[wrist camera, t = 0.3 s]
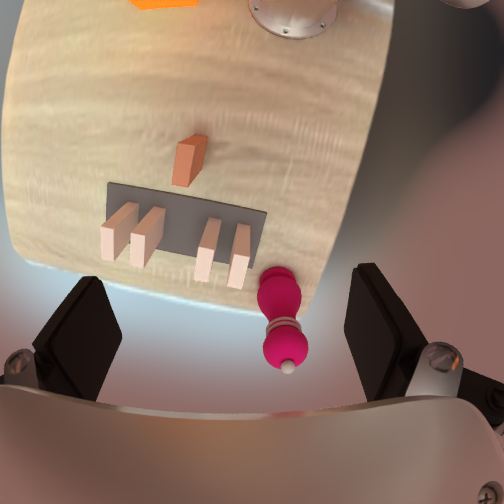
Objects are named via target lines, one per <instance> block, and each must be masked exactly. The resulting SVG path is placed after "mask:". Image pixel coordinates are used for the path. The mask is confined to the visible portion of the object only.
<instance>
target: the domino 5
mask: <svg viewBox="0 0 504 504" xmlns="http://www.w3.org/2000/svg"><path fill="white" fill-rule="evenodd" d="M249 259H250V225H245V224H240V223H238V224H237V228H236V233H235V237H234V241H233V246H232V250H231V257H230V265H229V273H228V281H227V287H232V288H237V289H242V286H243V282H244V278H245V275H246V271H247V267H248V263H249Z"/></svg>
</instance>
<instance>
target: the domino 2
mask: <svg viewBox="0 0 504 504" xmlns="http://www.w3.org/2000/svg"><path fill="white" fill-rule="evenodd" d="M165 210H166V209H165V208H160V207H155V206H154V207H153V208H152V209H151V210H150V211H149V212H148V213H147V215H146V216H145V217H144V218H143V219H142V220H141V221H140V223H139V224H138V225H137V226H136V227H135V228H134V230H133V231H132V232H131V241H130V266H133V267H137V268H142V269H144V267H145V265H146V264H147V262H148V260H149V259H150V257H151V255H152V254H153V252H154V250H155V249H156V247H157V245H158V244H159V242H160V240H161V239H162V237H163V228H164V219H165Z"/></svg>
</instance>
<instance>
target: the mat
mask: <svg viewBox="0 0 504 504" xmlns="http://www.w3.org/2000/svg"><path fill="white" fill-rule="evenodd" d="M127 202H133V203H139V214H138V224H139V223H140V221H141V220H142V219H143V218H144V217H145V216H146V215H147V213H148V212H149V211H150V210H151V209H152V208H153V207H154V206H155V207H160V208H165V209H166V210H165V219H164V228H163V237H162V239H161V240H160V242H159V244H158V245H157V247H156V249H158V250H163V251H168V252H172V253H177V254H182V255H187V256H192V257H197V253H198V247H199V244H200V241H201V238H202V235H203V233H204V230H205V227H206V224H207V222H208V219H209V217H211V218H216V219H221V220H222V221H221V226H220V231H219V236H218V241H217V246H216V251H215V255H214V259H213V261H216V262H221V263H226V264H230V257H231V250H232V246H233V241H234V237H235V233H236V228H237V224H238V223H240V224H245V225H250V259H249V263H248V267H247V268H251V269H252V267H253V263H254V259H255V256H256V252H257V248H258V245H259V241H260V237H261V234H262V230H263V226H264V222H265V219H266V215H267V212H263V211H258V210H254V209H249V208H245V207H240V206H235V205H230V204H226V203H221V202H216V201H211V200H206V199H201V198H196V197H190V196H185V195H180V194H175V193H169V192H164V191H158V190H152V189H147V188H141V187H135V186H129V185H123V184H117V183H111V182H109V183H107V203H106V221H107V220H108V219H109V218H110V217H111V216H112V215H114V214H115V213H116V212H117V211H118V210H119V209H120V208H121V207H122V206H124V205H125V204H126V203H127ZM130 241H131V240H130ZM129 243H130V242H129Z"/></svg>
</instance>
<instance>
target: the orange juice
mask: <svg viewBox="0 0 504 504" xmlns="http://www.w3.org/2000/svg"><path fill="white" fill-rule="evenodd" d="M129 1H130V2H131V3H133V4H134V5H135V6H137V7H138V8H139V9H141V10H146V9H155V8H167V7H183V6H197V4H198V0H129Z"/></svg>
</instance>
